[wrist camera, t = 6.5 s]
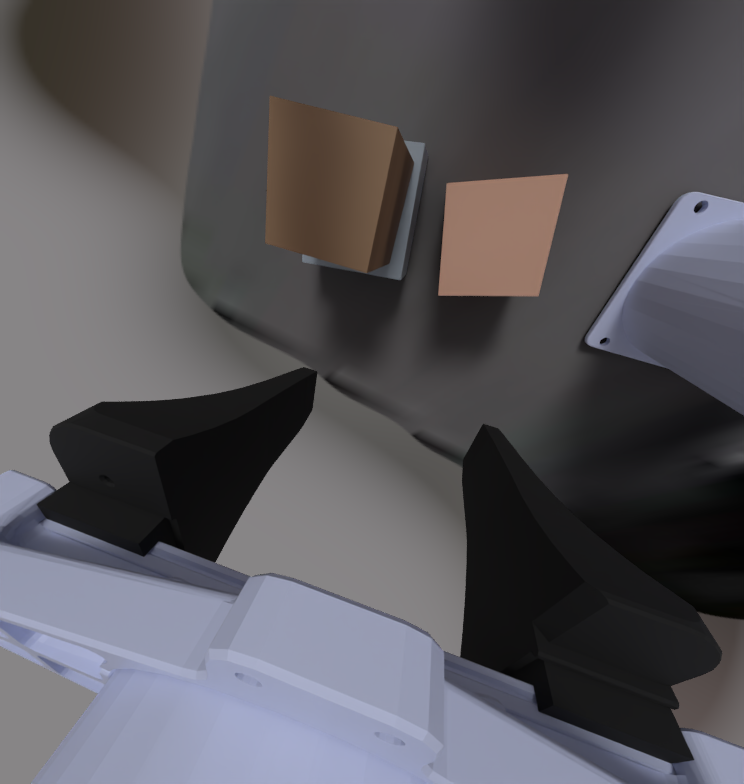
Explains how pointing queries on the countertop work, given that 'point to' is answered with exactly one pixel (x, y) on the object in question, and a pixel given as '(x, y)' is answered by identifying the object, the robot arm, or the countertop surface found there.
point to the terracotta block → (498, 235)
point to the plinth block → (407, 221)
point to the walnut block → (334, 185)
